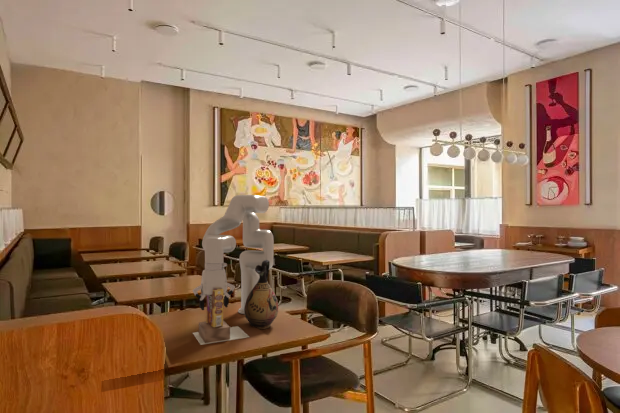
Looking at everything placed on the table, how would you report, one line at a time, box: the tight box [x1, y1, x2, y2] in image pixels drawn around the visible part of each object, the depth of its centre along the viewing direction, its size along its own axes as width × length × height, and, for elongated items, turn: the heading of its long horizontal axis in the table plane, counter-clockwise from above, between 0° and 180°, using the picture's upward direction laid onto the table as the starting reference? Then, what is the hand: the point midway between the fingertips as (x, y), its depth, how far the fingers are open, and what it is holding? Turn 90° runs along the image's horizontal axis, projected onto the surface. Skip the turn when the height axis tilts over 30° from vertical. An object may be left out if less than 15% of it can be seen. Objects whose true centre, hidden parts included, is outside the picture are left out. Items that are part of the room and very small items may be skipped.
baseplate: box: [192, 325, 250, 346], centre depth 167 cm, size 20×16×1 cm
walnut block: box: [198, 319, 231, 344], centre depth 164 cm, size 10×12×5 cm
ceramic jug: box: [244, 260, 279, 330], centre depth 182 cm, size 17×15×30 cm
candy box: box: [205, 288, 225, 327], centre depth 165 cm, size 9×4×15 cm, turn 35°
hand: (214, 307), depth 164 cm, fingers open, 9 cm apart
